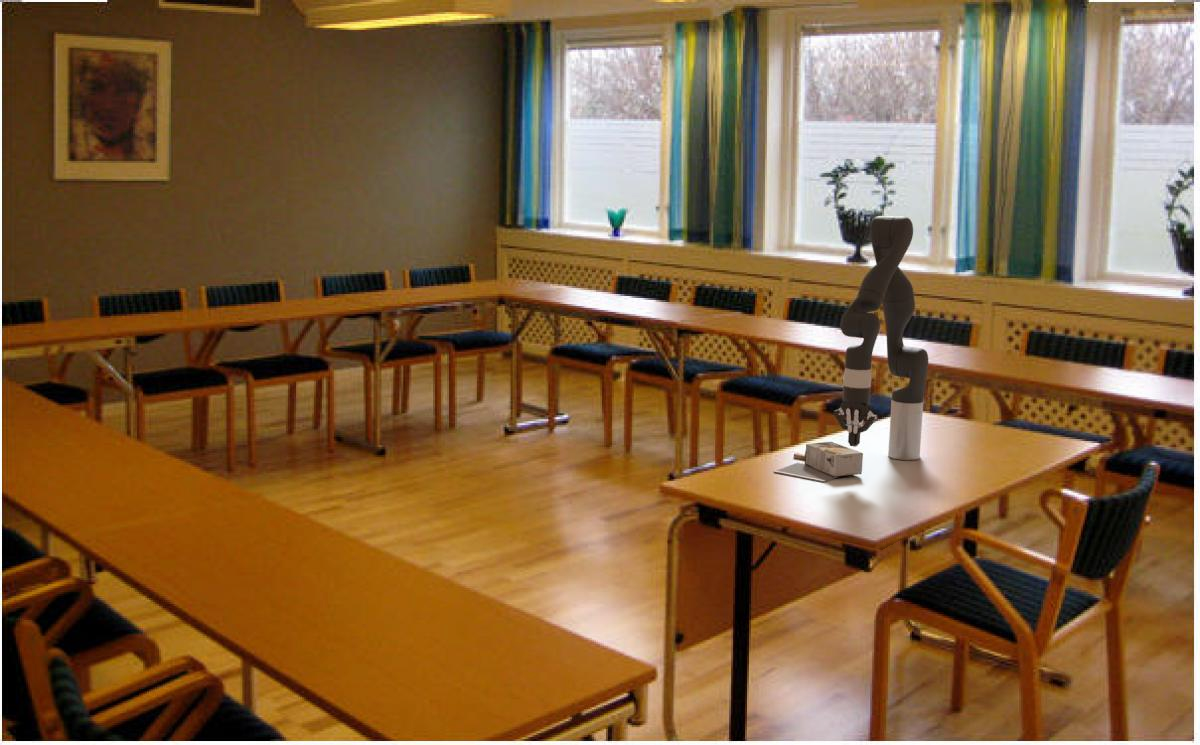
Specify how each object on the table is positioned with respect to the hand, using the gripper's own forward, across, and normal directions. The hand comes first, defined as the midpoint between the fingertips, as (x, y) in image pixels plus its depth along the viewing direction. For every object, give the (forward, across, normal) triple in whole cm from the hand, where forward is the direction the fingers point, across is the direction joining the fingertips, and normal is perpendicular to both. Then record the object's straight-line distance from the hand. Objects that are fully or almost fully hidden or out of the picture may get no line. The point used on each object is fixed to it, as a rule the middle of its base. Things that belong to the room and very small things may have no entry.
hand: (853, 445), depth 374 cm
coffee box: (+6, +2, -2) cm, 7 cm away
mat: (+10, +13, 0) cm, 16 cm away
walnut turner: (+10, +16, -13) cm, 23 cm away
